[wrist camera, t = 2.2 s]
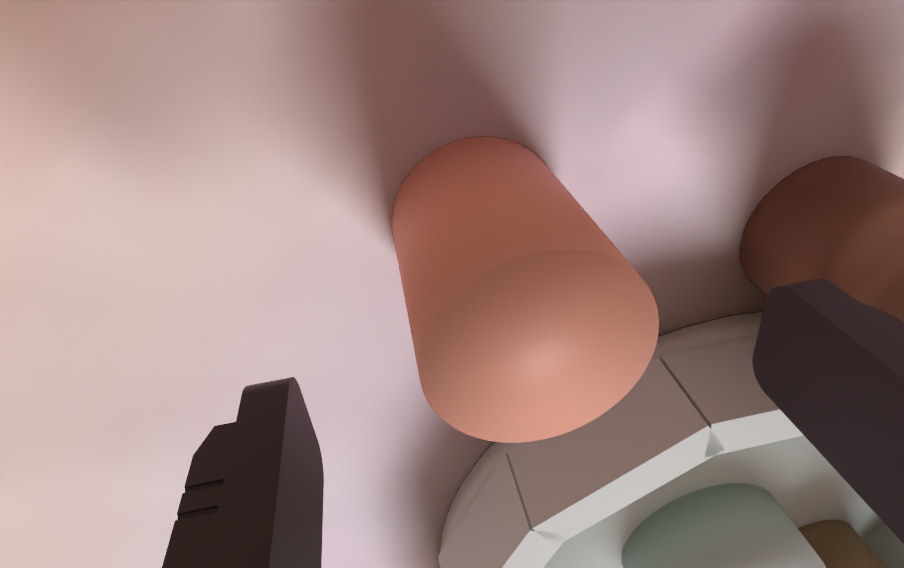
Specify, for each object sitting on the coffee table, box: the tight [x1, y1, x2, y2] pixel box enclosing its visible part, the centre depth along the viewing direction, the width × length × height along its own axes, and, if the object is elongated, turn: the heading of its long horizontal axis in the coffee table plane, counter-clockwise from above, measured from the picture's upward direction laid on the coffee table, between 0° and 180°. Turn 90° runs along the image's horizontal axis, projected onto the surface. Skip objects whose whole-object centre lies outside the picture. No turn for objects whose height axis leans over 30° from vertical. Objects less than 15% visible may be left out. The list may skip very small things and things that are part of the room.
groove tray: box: [438, 312, 904, 568], centre depth 20 cm, size 19×19×4 cm
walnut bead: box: [740, 156, 904, 322], centre depth 13 cm, size 4×4×5 cm
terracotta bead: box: [392, 136, 659, 443], centre depth 11 cm, size 4×4×5 cm
